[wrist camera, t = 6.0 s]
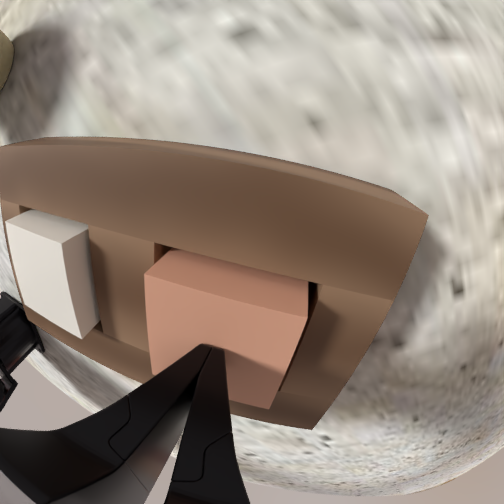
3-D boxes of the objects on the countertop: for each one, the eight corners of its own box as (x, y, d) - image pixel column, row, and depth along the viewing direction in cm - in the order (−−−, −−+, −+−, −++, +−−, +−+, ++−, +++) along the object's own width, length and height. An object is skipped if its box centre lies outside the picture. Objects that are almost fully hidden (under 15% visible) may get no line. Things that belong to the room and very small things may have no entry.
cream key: (113, 306, 13) (81, 339, 10) (55, 280, 14) (24, 304, 11) (106, 218, 11) (61, 243, 8) (44, 203, 11) (5, 221, 9)
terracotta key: (277, 359, 12) (269, 409, 9) (178, 331, 13) (152, 374, 10) (308, 269, 10) (307, 317, 7) (182, 238, 10) (143, 273, 8)
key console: (314, 377, 16) (311, 429, 12) (59, 292, 17) (27, 319, 14) (391, 189, 10) (428, 215, 7) (45, 137, 12) (-2, 147, 9)
